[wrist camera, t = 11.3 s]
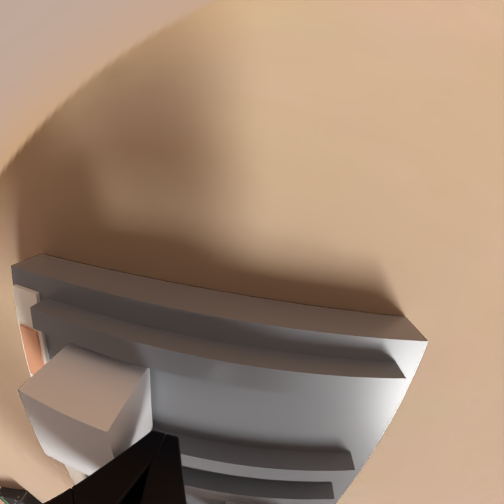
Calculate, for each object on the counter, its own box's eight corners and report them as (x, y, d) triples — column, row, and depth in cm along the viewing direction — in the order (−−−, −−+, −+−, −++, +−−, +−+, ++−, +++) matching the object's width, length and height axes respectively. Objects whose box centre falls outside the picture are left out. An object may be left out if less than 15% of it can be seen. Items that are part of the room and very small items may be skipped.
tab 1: (152, 426, 9) (123, 489, 6) (83, 402, 9) (44, 453, 6) (149, 364, 9) (107, 432, 5) (72, 340, 9) (17, 389, 6)
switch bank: (285, 539, 15) (285, 567, 12) (102, 501, 15) (91, 526, 12) (405, 317, 10) (441, 356, 7) (41, 253, 10) (-6, 272, 8)
